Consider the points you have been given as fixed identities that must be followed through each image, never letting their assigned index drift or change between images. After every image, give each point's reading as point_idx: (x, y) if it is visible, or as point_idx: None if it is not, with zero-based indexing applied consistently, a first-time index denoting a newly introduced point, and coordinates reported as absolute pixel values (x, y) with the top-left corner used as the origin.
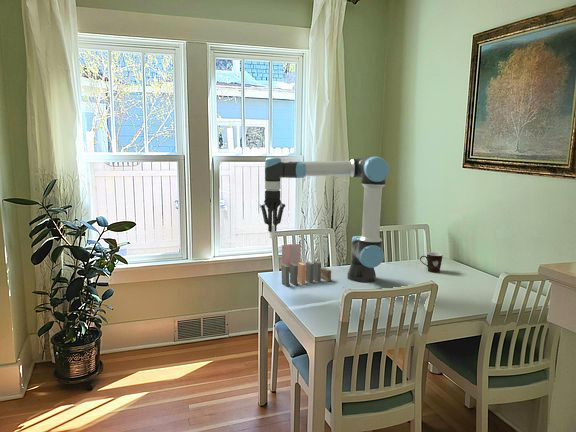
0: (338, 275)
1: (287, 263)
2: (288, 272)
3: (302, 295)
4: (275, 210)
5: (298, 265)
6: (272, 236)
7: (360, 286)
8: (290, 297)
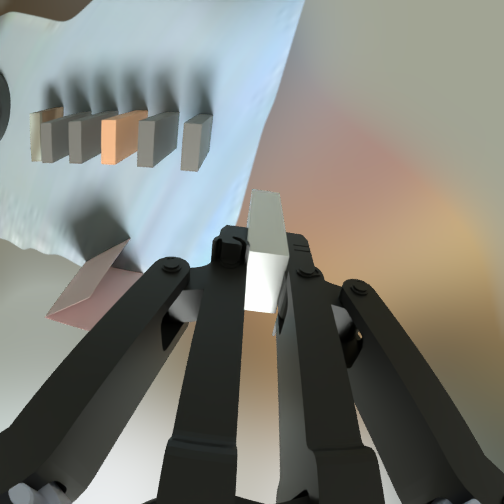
0: (15, 157)
1: (116, 284)
2: (192, 119)
3: (221, 3)
4: (228, 459)
5: (120, 157)
6: (275, 200)
7: (21, 36)
8: (272, 5)
